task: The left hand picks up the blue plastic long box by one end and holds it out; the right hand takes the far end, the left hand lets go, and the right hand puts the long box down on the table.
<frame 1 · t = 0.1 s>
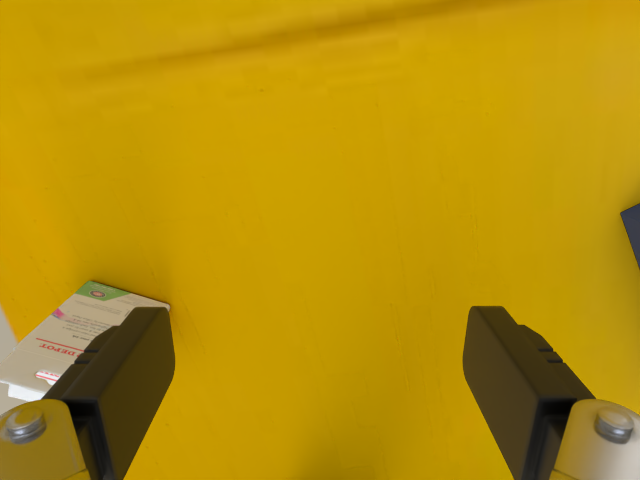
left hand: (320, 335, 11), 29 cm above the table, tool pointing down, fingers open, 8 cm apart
ink box: (127, 310, 44), on the table
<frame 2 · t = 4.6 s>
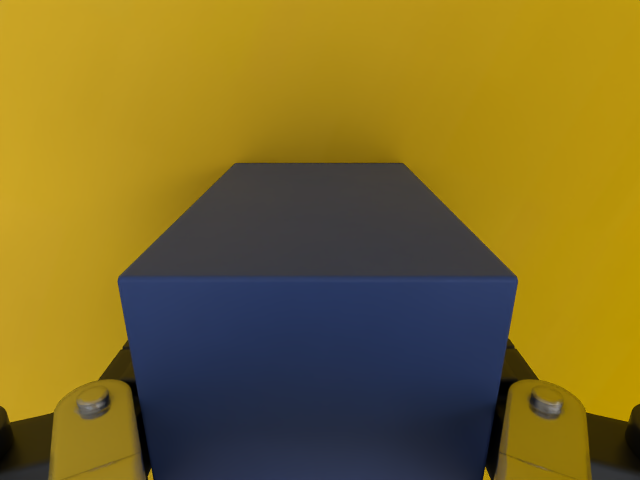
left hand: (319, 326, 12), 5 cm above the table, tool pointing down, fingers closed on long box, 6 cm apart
long box: (319, 417, 20), on the table, touching left hand
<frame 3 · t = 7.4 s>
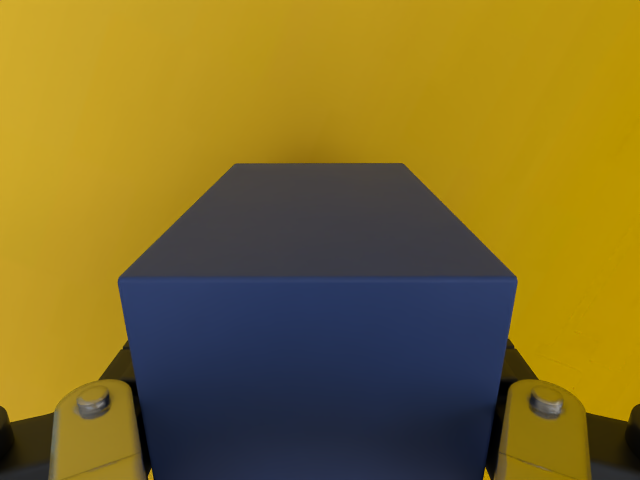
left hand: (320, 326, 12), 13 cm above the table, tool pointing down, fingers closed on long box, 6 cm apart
long box: (319, 417, 20), point 7 cm above the table, touching left hand
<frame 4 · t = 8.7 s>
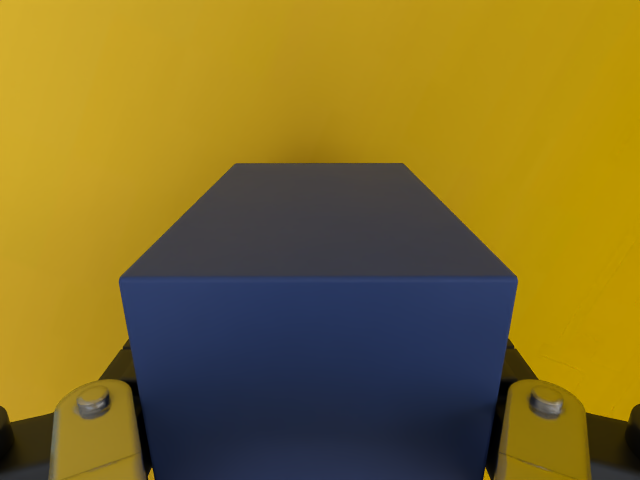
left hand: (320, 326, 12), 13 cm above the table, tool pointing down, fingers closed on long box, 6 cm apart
long box: (319, 417, 20), point 7 cm above the table, touching left hand, right hand
when the left hand's fingers open (13 cm above the table, at t = 10.1 s): long box moves 2 cm, held by the right hand.
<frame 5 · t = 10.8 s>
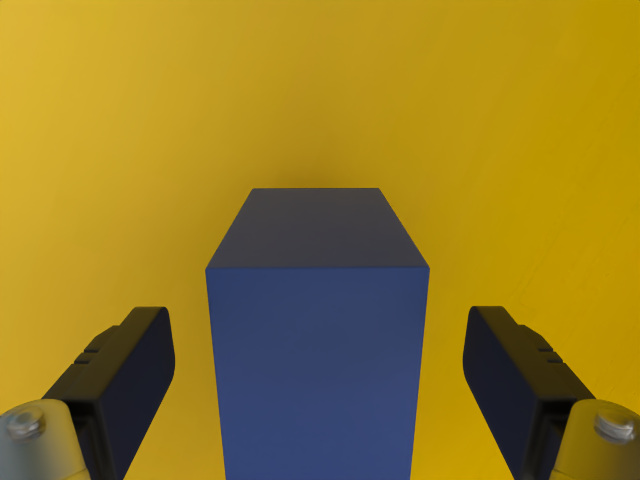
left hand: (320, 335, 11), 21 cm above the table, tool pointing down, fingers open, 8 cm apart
long box: (316, 386, 25), point 10 cm above the table, touching right hand
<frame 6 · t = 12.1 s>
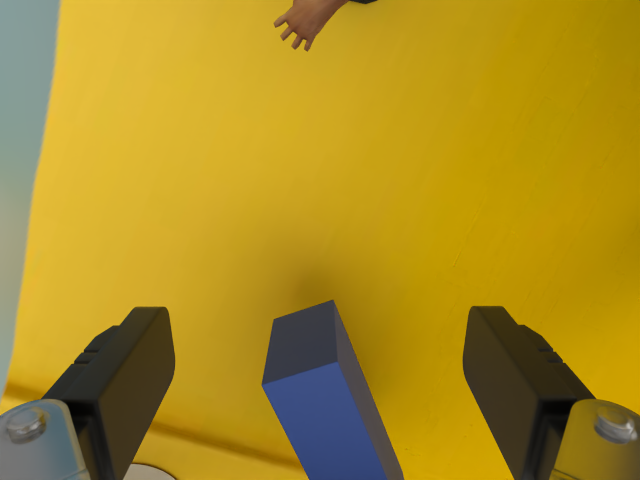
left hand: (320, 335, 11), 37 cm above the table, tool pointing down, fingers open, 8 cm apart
long box: (342, 401, 46), point 10 cm above the table, touching right hand
when the right hand's fingers open (6 cm above the table, at t = 15.7 s): long box stays where it is, on the table.
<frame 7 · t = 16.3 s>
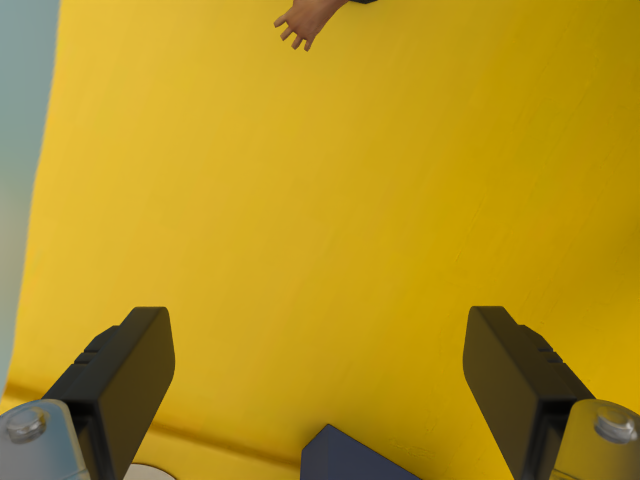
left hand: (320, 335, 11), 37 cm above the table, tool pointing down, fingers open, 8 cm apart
long box: (379, 475, 63), on the table
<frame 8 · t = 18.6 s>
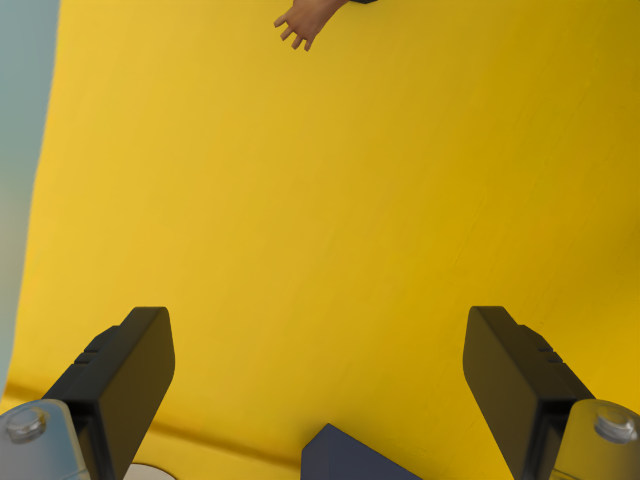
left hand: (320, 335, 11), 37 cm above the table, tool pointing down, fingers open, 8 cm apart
long box: (379, 474, 63), on the table
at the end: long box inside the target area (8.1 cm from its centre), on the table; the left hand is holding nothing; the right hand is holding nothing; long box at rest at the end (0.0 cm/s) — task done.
